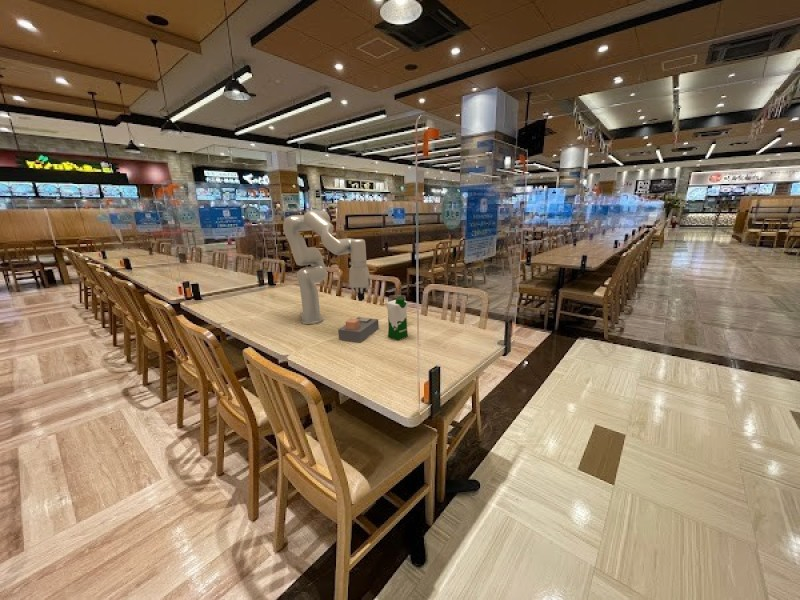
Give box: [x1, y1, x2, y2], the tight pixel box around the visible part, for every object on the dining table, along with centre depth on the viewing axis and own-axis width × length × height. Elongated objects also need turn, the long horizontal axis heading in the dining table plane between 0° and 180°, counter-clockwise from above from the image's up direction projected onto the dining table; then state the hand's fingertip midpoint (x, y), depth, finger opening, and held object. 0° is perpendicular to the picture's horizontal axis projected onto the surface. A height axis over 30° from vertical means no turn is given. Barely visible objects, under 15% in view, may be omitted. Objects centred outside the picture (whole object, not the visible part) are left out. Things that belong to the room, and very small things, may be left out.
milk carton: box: [385, 298, 409, 341], centre depth 156 cm, size 9×9×20 cm
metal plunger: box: [359, 317, 372, 323], centre depth 168 cm, size 5×5×5 cm
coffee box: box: [387, 294, 407, 302], centre depth 174 cm, size 9×6×16 cm
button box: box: [337, 316, 380, 344], centre depth 163 cm, size 12×20×6 cm, turn 158°
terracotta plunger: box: [344, 318, 360, 331], centre depth 156 cm, size 5×5×5 cm
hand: (361, 300), depth 162 cm, fingers closed
